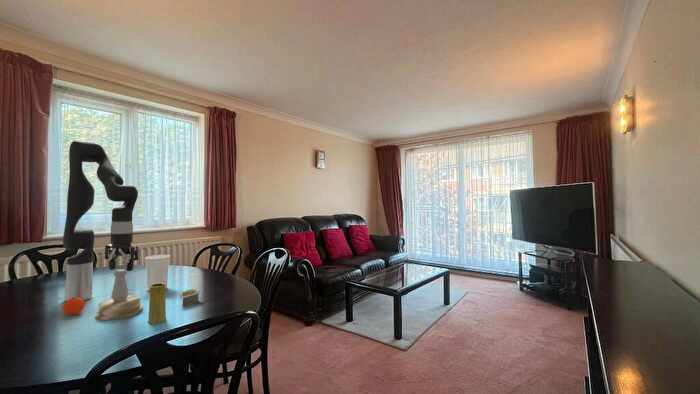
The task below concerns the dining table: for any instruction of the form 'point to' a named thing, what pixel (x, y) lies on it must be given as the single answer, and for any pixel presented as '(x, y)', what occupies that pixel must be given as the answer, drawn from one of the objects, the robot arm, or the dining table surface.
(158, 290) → the vase
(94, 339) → the dining table surface
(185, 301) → the platform
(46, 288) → the dining table surface
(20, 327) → the dining table surface
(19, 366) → the dining table surface
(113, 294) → the salt shaker
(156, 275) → the cup
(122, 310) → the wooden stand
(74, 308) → the clementine
